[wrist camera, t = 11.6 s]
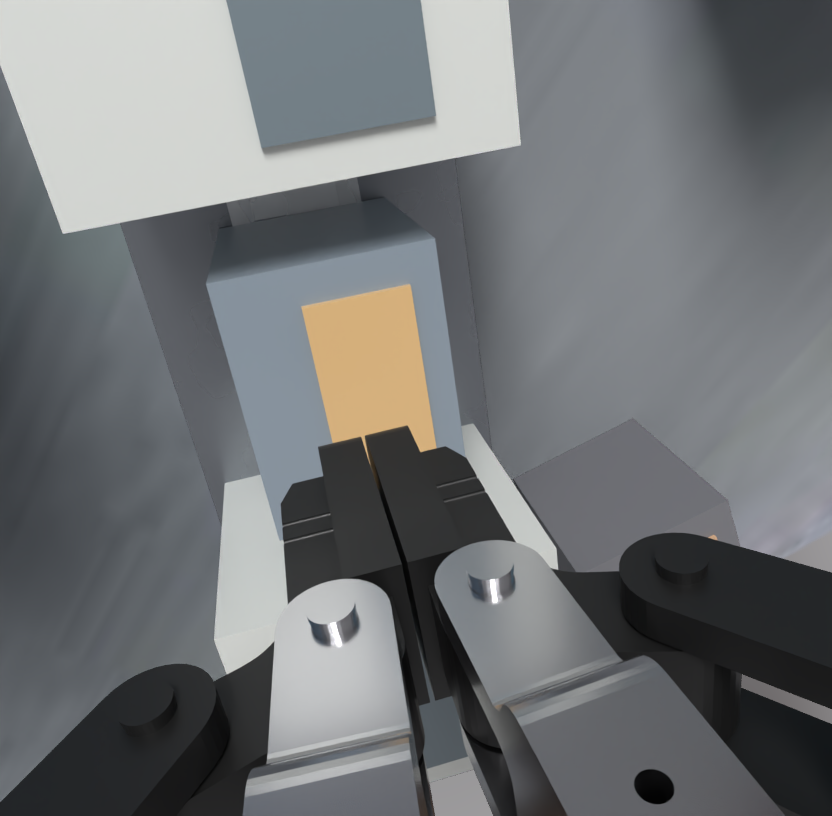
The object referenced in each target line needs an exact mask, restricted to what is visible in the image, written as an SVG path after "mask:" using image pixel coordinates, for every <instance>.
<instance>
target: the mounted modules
mask: <svg viewBox="0 0 832 816" xmlns="http://www.w3.org/2000/svg"><path fill="white" fill-rule="evenodd" d="M0 66H1V68H2V71H3V74H4V76H5V79H6V82H7V84H8V87H9V90H10V92H11V95H12V98H13V101H14V103H15V106H16V109H17V111H18V114H19V117H20V119H21V122H22V125H23V127H24V130H25V133H26V135H27V138H28V141H29V144H30V146H31V149H32V152H33V154H34V157H35V160H36V162H37V165H38V168H39V170H40V173H41V176H42V179H43V181H44V184H45V187H46V189H47V192H48V195H49V197H50V200H51V203H52V205H53V208H54V211H55V213H56V216H57V219H58V222H59V224H60V227H61V230H62V232H63V234H65V233H70V232H75V231H80V230H86V229H91V228H96V227H101V226H106V225H111V224H117V223H122V222H127V221H132V220H137V219H142V218H148V217H153V216H158V215H163V214H168V213H173V212H179V211H184V210H189V209H194V208H199V207H204V206H210V205H215V204H220V203H225V202H230V201H235V200H241V199H246V198H251V197H256V196H261V195H266V194H272V193H277V192H282V191H287V190H292V189H297V188H303V187H308V186H313V185H318V184H323V183H328V182H334V181H339V180H344V179H349V178H354V177H359V176H365V175H370V174H375V173H380V172H385V171H390V170H396V169H401V168H406V167H411V166H416V165H421V164H427V163H432V162H437V161H442V160H447V159H452V158H457V157H463V156H468V155H473V154H478V153H483V152H488V151H494V150H499V149H504V148H509V147H514V146H519V145H521V141H520V129H519V118H518V107H517V95H516V84H515V73H514V61H513V50H512V39H511V27H510V16H509V4H508V0H0ZM461 428H462V435H463V443H464V450H465V457H466V458H467V460H468V461H469V463H470V465H471V466H472V468H473V470H474V471H475V473H476V475H477V479H478V478H479V480H480V482H481V483H482V485H483V487H484V489H485V492H486V493H487V494H488V495H489V497H490V499H491V500H492V502H493V504H494V506H495V507H496V509H497V511H498V512H499V514H500V516H501V518H502V519H503V521H504V523H505V524H506V526H507V528H508V529H509V531H510V533H511V535H512V536H513V538H514V540H515V541H516V543H520V544H523V545H525V546H527V547H529V548H531V549H533V550H534V551H536V552H537V553H538V554H539V555H540V556H541V557H542V558H543V559H544V560H545V562H546V563H547V564H548V565H549V567H550V568H552V569H557V570H558V561H557V550H556V547H555V546H554V544H553V543H552V541H551V540H550V538H549V537H548V535H547V534H546V532H545V531H544V529H543V528H542V526H541V525H540V523H539V522H538V520H537V519H536V517H535V516H534V514H533V513H532V511H531V509H530V508H529V506H528V505H527V503H526V502H525V500H524V499H523V497H522V496H521V494H520V493H519V491H518V490H517V488H516V487H515V485H514V484H513V482H512V481H511V479H510V478H509V476H508V475H507V473H506V472H505V470H504V469H503V467H502V466H501V464H500V463H499V461H498V460H497V458H496V457H495V455H494V454H493V452H492V451H491V449H490V448H489V446H488V445H487V443H486V442H485V440H484V439H483V437H482V436H481V434H480V433H479V431H478V430H477V428H476V427H475V425H474V424H473V423H472V424H468V425H464V426H461ZM287 605H288V600H287V586H286V573H285V559H284V542H283V540H281V541H279V537H278V534H277V530H276V527H275V523H274V520H273V516H272V513H271V509H270V506H269V502H268V499H267V495H266V492H265V488H264V485H263V481H262V478H261V475H257V476H253V477H249V478H244V479H240V480H236V481H232V482H228V483H225V487H224V501H223V516H222V531H221V545H220V560H219V575H218V589H217V604H216V619H215V633H214V641H215V644H216V647H217V649H218V652H219V655H220V657H221V660H222V663H223V665H224V668H225V671H226V673H227V674H229V673H231V672H233V671H234V670H236V669H238V668H240V667H242V666H244V665H245V664H247V663H249V662H250V661H252V660H253V659H255V658H256V657H258V656H259V655H260V654H262V653H263V652H264V651H265V650H266V649H267V648H268V647H269V646H270V645H271V644H272V643H273V642H274V641H275V629H276V623H277V621H278V618H279V616H280V614H281V613H282V611H283V610H284V608H285V607H286V606H287ZM419 650H420V649H419ZM420 655H421V652H420ZM421 660H422V665H423V669H424V674H425V679H426V684H427V689H428V694H429V698H430V703H427V704H424V705H420V706H419V709H420V714H421V718H422V723H423V727H424V733H425V746H424V750H423V752H424V756H425V761H426V766H427V772H428V778H429V783H431V782H435V781H438V780H441V779H444V778H448V777H451V776H454V775H458V774H461V773H464V772H468V771H471V770H474V769H473V766H472V764H471V762H470V759H469V757H468V755H467V752H466V749H465V746H464V743H463V737H462V732H461V726H460V721H459V716H458V713H457V710H456V707H455V704H454V701H453V698H452V696H450V697H447V698H443V699H440V700H436V701H435V698H434V695H433V692H432V688H431V685H430V682H429V678H428V675H427V672H426V668H425V665H424V662H423V659H422V655H421Z"/></svg>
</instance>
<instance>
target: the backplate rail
mask: <svg viewBox="0 0 832 816" xmlns="http://www.w3.org/2000/svg"><path fill="white" fill-rule="evenodd" d="M383 197H385V198H386V199H387V200H388V201H390V202H391V203H392V204H393V205H395V206H396V207H397V208H398V209H400V210H401V211H402V212H403V213H404V214H406V215H407V216H408V217H409V218H411V219H412V220H413V221H414V222H416V223H417V224H418V225H419V226H421V227H422V228H423V229H424V230H425V231H427V232H428V233H429V234H430V235H432V236H433V237H434V238H435V242H436V249H437V256H438V263H439V270H440V277H441V285H442V292H443V299H444V306H445V313H446V321H447V328H448V335H449V342H450V349H451V356H452V364H453V371H454V378H455V385H456V392H457V399H458V407H459V414H460V421H461V426H464V425H468V424H472V423H473V424H474V425H475V427H476V428H477V430H478V431H479V433H480V434H481V436H482V437H483V439H484V440H485V442H486V443H487V445H488V446H489V448H490V449H491V451H492V446H491V439H490V431H489V423H488V415H487V407H486V399H485V391H484V383H483V376H482V368H481V360H480V352H479V344H478V336H477V328H476V321H475V313H474V305H473V297H472V289H471V281H470V273H469V265H468V258H467V250H466V242H465V234H464V226H463V218H462V210H461V203H460V195H459V187H458V179H457V171H456V163H455V158H452V159H447V160H442V161H437V162H432V163H427V164H421V165H416V166H411V167H406V168H401V169H396V170H390V171H385V172H380V173H375V174H370V175H365V176H359V177H354V178H349V179H344V180H339V181H334V182H328V183H323V184H318V185H313V186H308V187H303V188H297V189H292V190H287V191H282V192H277V193H272V194H266V195H261V196H256V197H251V198H246V199H241V200H235V201H230V202H225V203H220V204H215V205H210V206H204V207H199V208H194V209H189V210H184V211H179V212H173V213H168V214H163V215H158V216H153V217H148V218H142V219H137V220H132V221H127V222H122V223H120V224H121V227H122V230H123V233H124V236H125V239H126V242H127V245H128V248H129V251H130V254H131V257H132V260H133V263H134V266H135V269H136V272H137V275H138V278H139V281H140V284H141V287H142V290H143V293H144V296H145V299H146V302H147V305H148V308H149V311H150V314H151V317H152V320H153V323H154V326H155V329H156V332H157V335H158V338H159V341H160V344H161V347H162V350H163V353H164V356H165V359H166V362H167V365H168V368H169V371H170V374H171V377H172V380H173V383H174V386H175V389H176V392H177V395H178V398H179V401H180V404H181V407H182V410H183V413H184V416H185V419H186V422H187V424H188V427H189V430H190V433H191V436H192V439H193V442H194V445H195V448H196V451H197V454H198V457H199V460H200V463H201V466H202V469H203V472H204V475H205V478H206V481H207V484H208V487H209V490H210V493H211V496H212V499H213V502H214V505H215V508H216V511H217V514H218V517H219V520H220V523H221V526H222V516H223V501H224V487H225V483H228V482H232V481H236V480H240V479H244V478H249V477H253V476H257V475H261V474H260V471H259V468H258V464H257V461H256V457H255V454H254V450H253V447H252V443H251V440H250V436H249V433H248V429H247V426H246V422H245V419H244V415H243V412H242V408H241V405H240V401H239V398H238V394H237V391H236V387H235V384H234V380H233V377H232V373H231V370H230V366H229V363H228V359H227V356H226V353H225V349H224V346H223V342H222V339H221V335H220V332H219V328H218V325H217V321H216V318H215V314H214V311H213V307H212V304H211V300H210V297H209V293H208V290H207V286H206V282H207V277H208V273H209V269H210V265H211V260H212V256H213V252H214V248H215V243H216V239H217V235H218V231H219V229H221V228H226V227H231V226H237V225H242V224H247V223H252V222H258V221H263V220H268V219H273V218H278V217H284V216H289V215H294V214H299V213H305V212H310V211H315V210H320V209H325V208H331V207H336V206H341V205H346V204H352V203H357V202H362V201H367V200H372V199H378V198H383Z"/></svg>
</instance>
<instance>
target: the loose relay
mask: <svg viewBox="0 0 832 816" xmlns="http://www.w3.org/2000/svg"><path fill="white" fill-rule="evenodd" d="M514 481H515V484H516V486H517V488H518V490H519V492H520V494H521V496H522V497H523V499H524V500H525V502H526V503H527V505H528V506H529V508H530V509H531V511H532V513H533V514H534V516H535V517H536V519H537V520H538V522H539V523H540V525H541V526H542V528H543V529H544V531H545V532H546V534H547V535H548V537H549V538H550V540H551V541H552V543H553V544H554V546H555V547H556V550H557V561H558V570H561V571H568V572H608V571H619V562H620V559H621V556H622V555H623V553H624V551H625V550H626V549H627V548H628V547H629V546H630V545H632V544H633V543H635V542H636V541H638V540H640V539H643V538H645V537H648V536H651V535H656V534H661V533H689V534H695V535H700V536H704V537H707V538H711V539H714V540H718V541H722V542H725V543H729V544H732V545H736V546H739V547H740V543H739V539H738V536H737V532H736V528H735V525H734V521H733V518H732V514H731V510H730V507H729V503H728V500H727V499H726V498H725V497H724V496H723V495H721V494H720V493H719V492H718V491H717V490H716V489H714V488H713V487H712V486H711V485H710V484H709V483H707V482H706V481H705V480H704V479H703V478H702V477H700V476H699V475H698V474H697V473H696V472H695V471H694V470H692V469H691V468H690V467H689V466H688V465H687V464H685V463H684V462H683V461H682V460H681V459H680V458H678V457H677V456H676V455H675V454H674V453H673V452H671V451H670V450H669V449H668V448H667V447H666V446H664V445H663V444H662V443H661V442H660V441H659V440H658V439H656V438H655V437H654V436H653V435H652V434H651V433H649V432H648V431H647V430H646V429H645V428H644V427H642V426H641V425H640V424H639V423H638V422H637V421H635V420H634V419H631V420H629V421H627V422H625V423H623V424H621V425H619V426H617V427H615V428H613V429H611V430H609V431H607V432H605V433H603V434H601V435H599V436H597V437H595V438H593V439H591V440H589V441H587V442H585V443H583V444H581V445H579V446H577V447H575V448H573V449H571V450H569V451H567V452H565V453H563V454H561V455H559V456H557V457H555V458H553V459H551V460H549V461H547V462H545V463H543V464H541V465H540V466H538V467H536V468H534V469H532V470H530V471H528V472H526V473H524V474H522V475H520V476H518V477H516V478H514Z"/></svg>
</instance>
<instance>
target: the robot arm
mask: <svg viewBox="0 0 832 816" xmlns="http://www.w3.org/2000/svg"><path fill="white" fill-rule="evenodd" d="M365 442H366V447H367V452H368V457H369V460H368V457H367V453H366V450H365V447H364V444H363V441H362V438H361V437H357V438H352V439H348V440H344V441H340V442H336V443H331V444H327V445H323V446H319V447H318V451H319V456H320V461H321V467H322V472H323V476H322V477H318V478H314V479H309V480H305V481H301V482H297V483H293V484H292V485H291V487H290V489H289V490H288V492H287V494H286V495H285V497H284V499H283V501H282V502H281V517H282V526H283V528H282V531H283V542H284V559H285V573H286V586H287V600H288V605H287V606H286V607H285V608H284V610H283V611H282V613H281V614H280V616H279V618H278V621H277V623H276V629H275V641H274V642H273V643H272V644H271V645H270V646H269V647H268V648H267V649H266V650H265V651H264V652H263V653H262V654H260V655H259V656H258V657H256V658H255V659H253V660H252V661H250V662H249V663H247V664H245V665H244V666H242V667H240V668H238V669H236V670H234V671H233V672H231V673H229V674H227V675H225V676H223V677H221V678H220V679H218V680H216V681H214V682H213V679H212V678H211V677H210V675H209V674H208V673H207V672H205V671H204V670H203V669H201V668H198V667H196V666H192V665H188V664H171V665H164V666H160V667H156V668H153V669H150V670H147V671H145V672H142V673H140V674H138V675H136V676H134V677H132V678H131V679H129V680H127V681H126V682H124V683H123V684H121V685H120V686H118V687H117V688H116V689H114V690H113V691H112V692H111V693H110V694H109V695H108V696H107V697H105V698H104V699H103V700H102V701H101V702H100V703H99V704H98V705H97V706H96V707H95V708H94V709H93V710H92V711H91V712H90V713H89V714H88V715H87V716H86V717H85V718H84V719H83V720H82V721H81V722H80V723H79V724H78V725H77V726H76V727H75V728H74V729H73V730H72V731H71V732H70V733H69V734H68V735H67V736H66V737H65V738H64V739H63V740H62V741H61V742H60V743H59V744H58V745H57V746H56V747H55V748H54V749H53V750H52V751H51V752H50V753H49V754H48V755H47V756H46V757H45V758H44V759H43V760H42V761H41V762H40V763H39V764H38V765H37V766H36V767H35V768H34V769H33V770H32V771H31V772H30V773H29V774H28V775H27V776H26V777H25V778H24V779H23V780H22V781H21V782H20V783H19V784H18V785H17V786H16V787H15V788H14V789H13V790H12V791H11V792H10V793H9V794H8V795H7V796H6V797H5V798H4V799H3V800H2V801H1V802H0V816H435V813H434V808H433V801H432V795H431V790H430V784H429V778H428V772H427V766H426V761H425V756H424V752H423V750H424V746H425V733H424V727H423V723H422V718H421V714H420V709H419V706H420V705H424V704H427V703H430V698H429V694H428V689H427V684H426V679H425V674H424V669H423V665H422V660H421V655H422V659H423V662H424V665H425V668H426V672H427V675H428V678H429V682H430V685H431V688H432V692H433V695H434V698H435V701H436V700H440V699H443V698H447V697H450V696H452V698H453V701H454V704H455V707H456V710H457V713H458V716H459V721H460V726H461V732H462V737H463V743H464V746H465V749H466V752H467V755H468V757H469V759H470V762H471V764H472V766H473V769H474V771H475V773H476V776H477V778H478V780H479V783H480V785H481V788H482V790H483V792H484V795H485V796H486V799H487V802H488V804H489V806H490V808H491V811H492V814H493V816H832V724H830V723H827V722H825V721H823V720H820V719H818V718H815V717H813V716H810V715H808V714H805V713H803V712H800V711H798V710H795V709H793V708H790V707H788V706H785V705H783V704H780V703H778V702H775V701H773V700H770V699H768V698H765V697H763V696H760V695H758V694H755V693H753V692H750V691H748V690H746V689H743V688H741V679H742V674H743V675H746V676H748V677H751V678H753V679H756V680H758V681H761V682H764V683H766V684H769V685H771V686H774V687H776V688H779V689H781V690H784V691H787V692H789V693H792V694H794V695H797V696H800V697H802V698H805V699H807V700H810V701H812V702H815V703H817V704H820V705H823V706H825V707H828V708H830V709H832V573H831V572H827V571H824V570H820V569H817V568H813V567H810V566H806V565H803V564H799V563H795V562H792V561H789V560H785V559H782V558H778V557H775V556H771V555H767V554H764V553H760V552H757V551H753V550H750V549H746V548H743V547H739V546H736V545H732V544H729V543H725V542H722V541H718V540H714V539H711V538H707V537H704V536H700V535H695V534H689V533H661V534H656V535H651V536H648V537H645V538H643V539H640V540H638V541H636V542H635V543H633V544H632V545H630V546H629V547H628V548H627V549H626V550H625V551H624V553H623V555H622V556H621V559H620V562H619V571H608V572H568V571H561V570H557V569H552V568H550V567H549V565H548V564H547V563H546V562H545V560H544V559H543V558H542V557H541V556H540V555H539V554H538V553H537V552H536V551H534V550H533V549H531V548H529V547H527V546H525V545H523V544H520V543H516V541H515V540H514V538H513V536H512V535H511V533H510V531H509V529H508V528H507V526H506V524H505V523H504V521H503V519H502V518H501V516H500V514H499V512H498V511H497V509H496V507H495V506H494V504H493V502H492V500H491V499H490V497H489V495H488V494H487V493H486V492H485V489H484V487H483V485H482V483H481V482H480V480H479V478H478V479H477V475H476V473H475V471H474V470H473V468H472V466H471V465H470V463H469V461H468V460H467V458H466V457H464V456H462V455H461V454H459V453H457V452H455V451H453V450H452V449H450V448H448V447H446V446H444V447H440V448H436V449H432V450H427V451H423V452H420V450H419V448H418V446H417V444H416V442H415V440H414V437H413V435H412V433H411V431H410V429H409V427H408V426H407V425H406V426H402V427H398V428H394V429H389V430H385V431H381V432H377V433H373V434H369V435H365ZM369 461H370V463H369ZM419 649H420V650H419ZM420 652H421V655H420Z"/></svg>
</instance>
